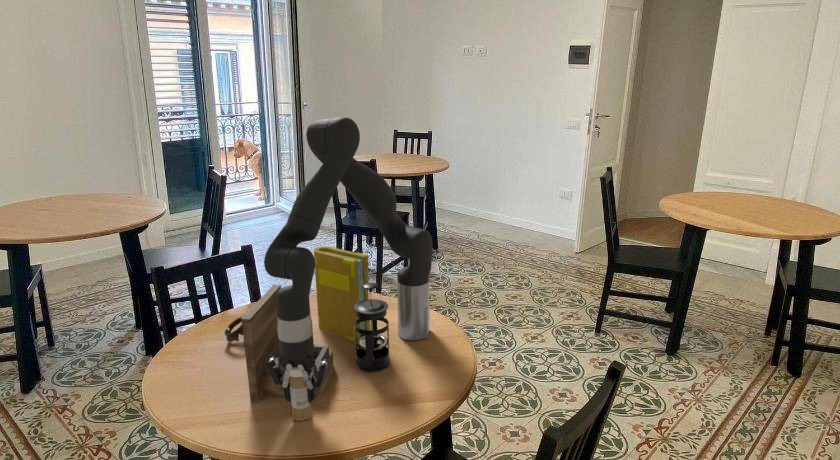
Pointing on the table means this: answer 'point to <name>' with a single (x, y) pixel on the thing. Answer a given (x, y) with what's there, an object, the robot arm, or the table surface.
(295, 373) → the sprinkles bottle
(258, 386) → the brown wooden holder
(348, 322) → the book
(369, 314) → the french press
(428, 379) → the table surface
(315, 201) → the robot arm
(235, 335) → the pottery mug
